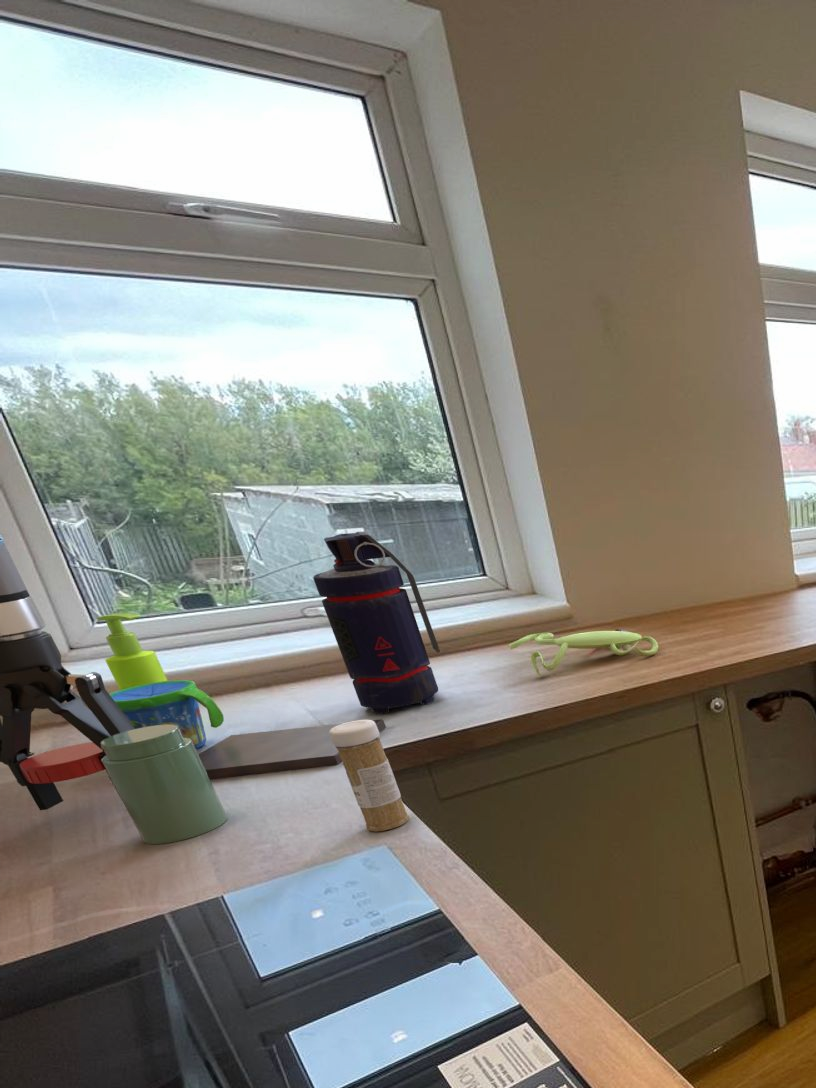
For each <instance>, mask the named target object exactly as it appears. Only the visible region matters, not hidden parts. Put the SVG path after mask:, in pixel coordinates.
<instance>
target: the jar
mask: <svg viewBox="0 0 816 1088" xmlns="http://www.w3.org/2000/svg"><path fill="white" fill-rule="evenodd" d="M101 749H103V750H104V752H105V754H106V756H105V757H103V758H102V763H103V765H104V767H105V769H106V770H105V772H106V771H107V772H106V774H107V773H108V774H107V775H109V776H108V778H109V779H110V778H111V779H110V781H111V780H112V781H111V783H112V782H113V783H112V785H113V784H114V785H113V787H114V786H115V787H114V789H115V788H116V789H115V791H116V790H117V791H116V792H118V793H117V795H118V794H119V795H118V796H120V797H119V798H120V800H121V799H122V800H121V802H122V804H123V805H124V807H125V809H126V811H127V812H128V815H129V817H130V819H131V821H132V822H133V824H134V826H135V828H136V830H137V832H138V834H139V835H140V838H141V839H142V841H143V842H144V843H145V844H149V845H164V844H170V843H177V842H180V841H184V840H187V839H192V838H195V837H197V836H201V835H203V834H205V833H209V832H210V831H213V830H215V829H217V828H219V827H220V826H222V825H224V824H225V823H226V821H227V820H228V815H227V813H226V811H225V808H224V806H223V804H222V802H221V800H220V798H219V796H218V794H217V792H216V789H215V787H214V785H213V783H212V781H211V779H209V777H208V774H207V772H206V770H205V768H204V766H203V764H202V762H201V760H200V757H199V755H198V754H199V753H198V751H197V748H196V749H195V747H194V745H193V743H192V740H191V739H189V738H183V736H182V734H181V732H180V730H179V728H178V726H176V725H156V726H149V727H143V728H138V729H134V730H130V731H126V732H122V733H119V734H116V735H113V736H111V737H108V738H106V739H104V740H103V741H102V742H101Z"/></svg>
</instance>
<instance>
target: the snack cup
mask: <svg viewBox="0 0 816 1088" xmlns="http://www.w3.org/2000/svg"><path fill="white" fill-rule="evenodd" d="M109 695H110V696H111V697H112V699H113V700H114V701H115V703H116V704H117V705H118V706H119V708H120V709H121V710H122V712H123V713H124V714H125V716H126V717H127V718H128V719H129V721H130V722H131V723H132V725H133V726H134V727H135V729H138V728H143V727H149V726H156V725H176V726H178V728H179V730H180V732H181V734H182V736H183V738H189V739H191V740H192V743H193V745H194V747H195V749H196V750H197V749H198V748H201V747H202V746H203V745H204V744H205V743H206V742H207V736H206V735H207V734H206V731H205V725H204V722H203V717H202V715H201V710H200V706H199V705H201V706H203V707H204V708H206V710H207V713H208V719H209V722H210V726H211V728H215V729H216V728H219V727H220V726H221V725H223V723H224V721H225V719H224V718H225V717H224V714H223V712H222V710H221V709H220V708H219V706H218V704H217V703H216V702H215V701H214V700H213V699H212V698H211V697H210V695H209V694H207V693H206V692H205V691H203V690H201V689H199V688H198V687H197V685H196V683H195V681H192V680H187V679H178V680H176V679H175V680H168V681H164V682H157V683H150V684H145V685H140V686H135V687H130V688H126V689H123V690H120V689H119V690H117V691H116V690H115V691H113V692H111V693H109Z"/></svg>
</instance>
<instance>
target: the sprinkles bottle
mask: <svg viewBox="0 0 816 1088" xmlns="http://www.w3.org/2000/svg"><path fill="white" fill-rule="evenodd" d="M372 720H373V719H358V720H351V721H347V722H343V724H342V723H339V724H340V725H337V726H335V727H333V728H332V729H331V730H330V731H329V734H330V737H331V740H332V742H333V744H334V745H335V746H336V748H337V749H338V752H339V755H340V757H341V759H342V762H341V763H342V765H343V767H344V770H345V774H346V777H347V779H348V782H349V784H350V787H351V789H352V792H353V795H354V797H355V800H356V802H357V805H358V807H359V808H360V811H361V814H362V816H363V819H364V822H365V827H366V829H367V830H368V831H370V832H383V831H387V830H392V829H394V828H398V827H400V826H402V825H404V824H406V823H407V822H408V821H409V819H410V814H409V813H408V812H407V811H406V807H405V805H404V803H403V799H402V796H401V792H400V789H399V786H398V783H397V781H396V778H395V775H394V772H393V770H392V766H391V764H390V761H389V759H388V757H387V755H386V753H385V750H384V747H383V745H382V741H381V737H380V735H381V734H380V733H381V732H379V731H378V728H377V726H376V723H375V722H374V721H372Z"/></svg>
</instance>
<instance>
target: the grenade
mask: <svg viewBox="0 0 816 1088" xmlns="http://www.w3.org/2000/svg"><path fill="white" fill-rule="evenodd" d="M323 541H324V542H325V544H326V546H327V548H328V550H329V551H330V553H331V554H332V556H333V557H334V558H335V559H334V560H333V562H334V564H333V565H332V566H333V568H332V569H329V570H327V571H324V572H320V573H316V574H314V575H313V577H312V579H313V582H314V585H315V587H316V590H317V592H318V595H319V596H320V597H323V598H324V599H322V600H321V604H322V606H323V609H324V611H325V615H326V616H327V619H328V622H329V626H330V628H331V630H332V632H333V635H334V636H333V637H334V638H335V641H336V644H337V646H338V649H339V652H340V654H341V657H342V659H343V662H344V665H345V669H346V671H347V673H348V676H349V679H351V680H352V685H353V688H354V690H355V693H356V697H357V699H358V702H359V705H360V706H362V707H363V708H368V709H371V710H372V712H373V713H374V714H379V715H381V714H388V713H389V712H390V709H392V708H400V707H405V706H409V705H413V704H416V703H421V705H423V706H424V705H425V706H426V705H428V704H431V703H432V702H434V701H435V697H434V695H436V694H437V693H438V692H439V686H438V684H437V680H436V678H435V675H434V672H433V668H432V667H431V666H429V665H431V661H430V659H429V655H428V653H427V649H426V646H425V644H424V639H423V637H422V634H421V631H420V629H419V626H418V622H417V619H416V616H415V613H414V609H413V607H412V604H411V601H410V598H409V594H408V591H407V589H405V588H401V587H402V586H404V584H405V583H404V580H403V577H402V573H401V570H402V571H403V572H404V574H406V576H407V579H408V582H409V585H410V587H411V590H412V593H413V596H414V598H415V602H416V604H417V607H418V609H419V613H420V615H421V618H422V621H423V624H424V626H425V630H426V632H427V636H428V638H429V640H430V643H431V646H432V649H433V650H434V651H435V652H436V653H440V652H441V649H440V647H439V645H438V641H437V639H436V635H435V633H434V630H433V628H432V625H431V622H430V619H429V615H428V613H427V611H426V608H425V605H424V602H423V599H422V597H421V594H420V590H419V588H418V585H417V582H416V579H415V577H414V574H412V572H411V571H410V570H409V569H408V568H407V567H406V566H405V565H404V564H403V563H402V562H401V561H400V560H399V559H398V558H397V557H396V556H395V555H394V554H393V553H392V552H391V551H390V550H388V549H387V548H386V547H385V546H384V545H382V544H381V543H380V542H379V541H377V540H376V539H375V538H374V537H373V536H371V535H370V534H369V533H367V532H366V531H356V532H352V533H340V534H336V535H334V536H328V537H324V539H323ZM386 558H390V559H391V560H392V561H393V562H394V563H395V565H394V564H384V563H385V560H386ZM374 559H375V560H376V559H382V560H381V561H380V563H375V562H374V561H373V560H374ZM397 565H398V566H397ZM400 569H401V570H400Z"/></svg>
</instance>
